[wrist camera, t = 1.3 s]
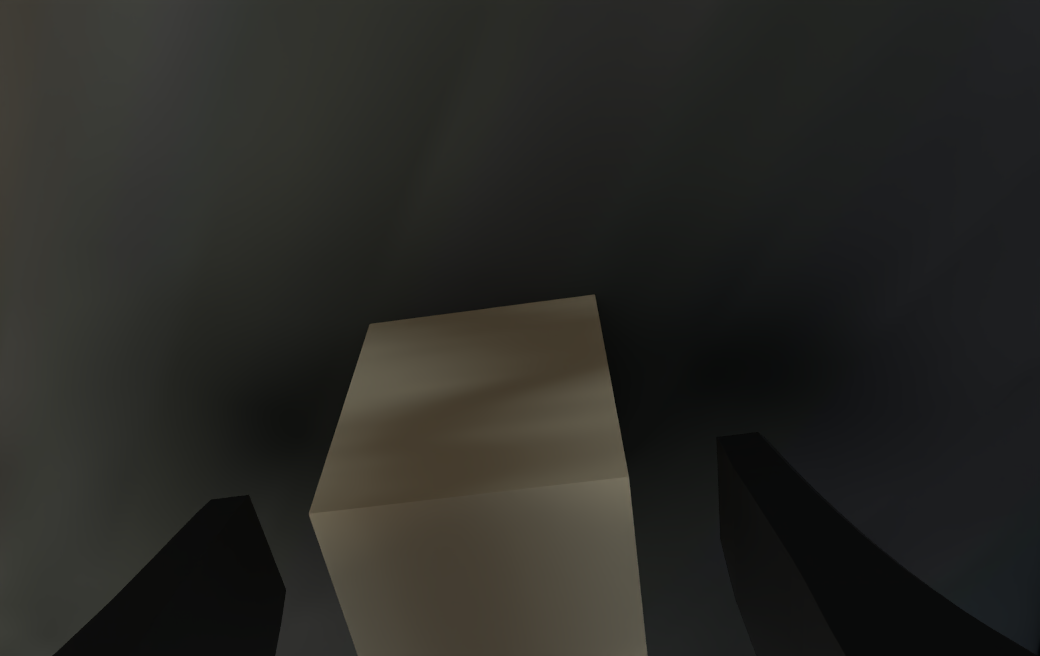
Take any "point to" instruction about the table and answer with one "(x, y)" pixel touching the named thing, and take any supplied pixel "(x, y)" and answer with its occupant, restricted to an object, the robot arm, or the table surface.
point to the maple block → (483, 490)
